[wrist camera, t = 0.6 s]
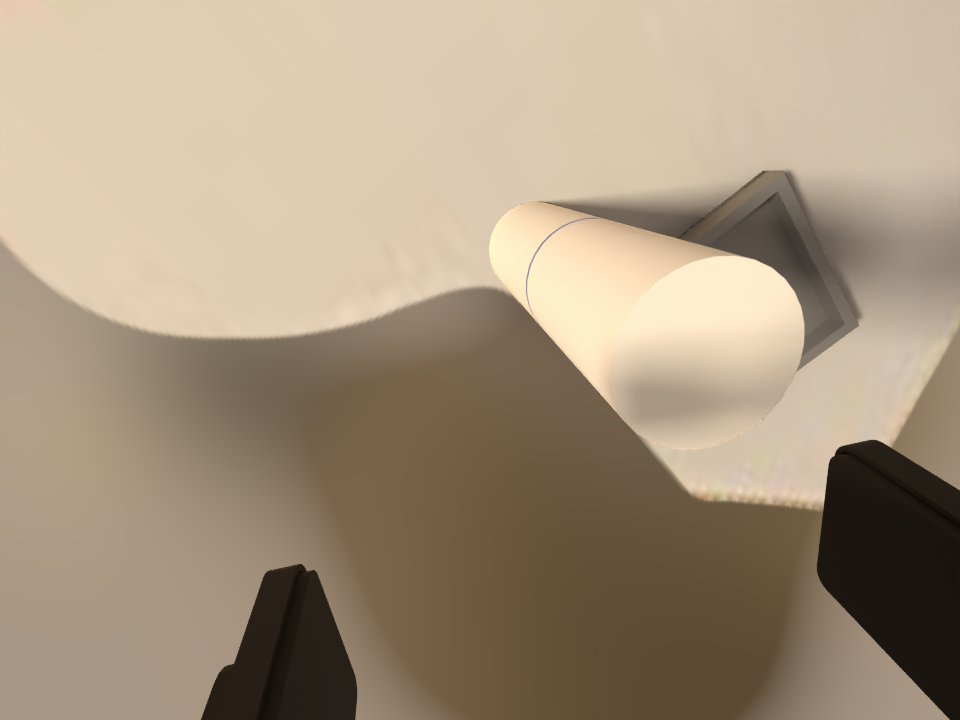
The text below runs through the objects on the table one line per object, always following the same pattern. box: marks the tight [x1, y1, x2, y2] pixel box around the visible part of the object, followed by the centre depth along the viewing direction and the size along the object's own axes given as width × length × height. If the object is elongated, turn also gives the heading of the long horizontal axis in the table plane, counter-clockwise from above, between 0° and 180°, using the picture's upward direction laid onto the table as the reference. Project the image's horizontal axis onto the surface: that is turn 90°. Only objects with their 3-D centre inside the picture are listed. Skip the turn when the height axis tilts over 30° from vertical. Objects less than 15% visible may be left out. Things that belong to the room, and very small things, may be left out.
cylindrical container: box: [489, 202, 804, 450], centre depth 30 cm, size 7×7×25 cm
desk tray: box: [678, 171, 859, 372], centre depth 45 cm, size 16×16×2 cm
